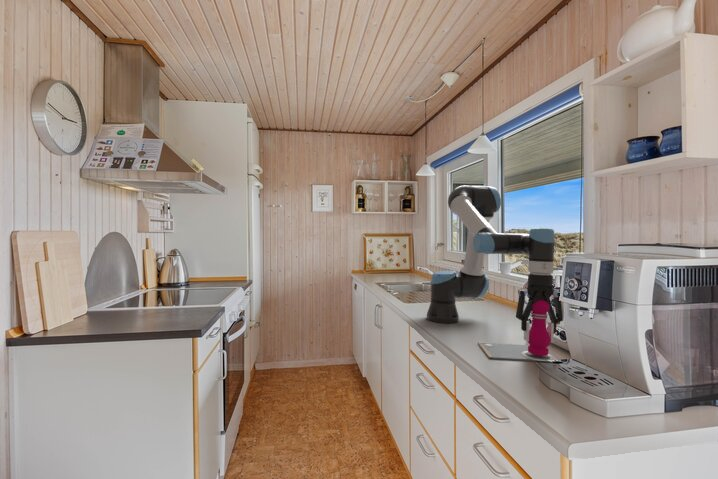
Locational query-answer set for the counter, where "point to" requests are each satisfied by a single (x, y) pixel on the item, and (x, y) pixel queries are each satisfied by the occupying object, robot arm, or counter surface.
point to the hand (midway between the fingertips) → (538, 340)
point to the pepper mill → (539, 329)
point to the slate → (511, 352)
